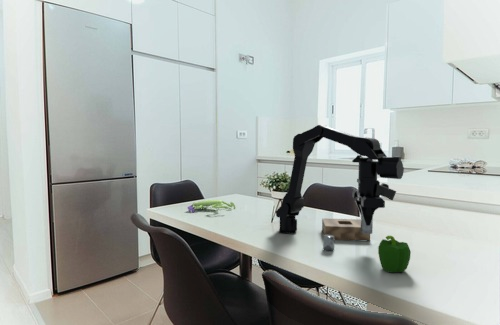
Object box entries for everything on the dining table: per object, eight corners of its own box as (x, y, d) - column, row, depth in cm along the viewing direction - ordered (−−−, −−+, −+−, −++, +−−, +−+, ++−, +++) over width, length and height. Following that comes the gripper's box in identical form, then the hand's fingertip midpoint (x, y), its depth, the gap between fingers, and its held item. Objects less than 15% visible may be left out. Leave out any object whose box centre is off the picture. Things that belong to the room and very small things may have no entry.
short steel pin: (323, 251, 105) (323, 237, 104) (322, 247, 108) (322, 234, 108) (334, 251, 104) (335, 238, 104) (333, 247, 108) (333, 235, 108)
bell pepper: (399, 263, 94) (400, 230, 93) (415, 275, 85) (416, 239, 85) (371, 264, 93) (372, 231, 93) (384, 276, 85) (385, 239, 84)
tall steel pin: (362, 233, 103) (362, 209, 102) (359, 230, 106) (360, 207, 106) (373, 234, 102) (374, 209, 102) (370, 231, 106) (371, 207, 105)
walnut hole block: (325, 239, 117) (325, 226, 117) (322, 230, 129) (322, 218, 129) (370, 241, 115) (370, 227, 115) (362, 231, 127) (363, 219, 127)
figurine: (224, 217, 154) (224, 205, 154) (179, 212, 164) (179, 201, 164) (240, 209, 171) (240, 199, 171) (198, 205, 181) (198, 196, 181)
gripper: (403, 180, 93) (402, 232, 94) (385, 174, 111) (384, 217, 112) (364, 179, 94) (363, 231, 95) (352, 173, 113) (351, 217, 114)
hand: (366, 223), depth 104 cm, fingers closed on tall steel pin, 4 cm apart
